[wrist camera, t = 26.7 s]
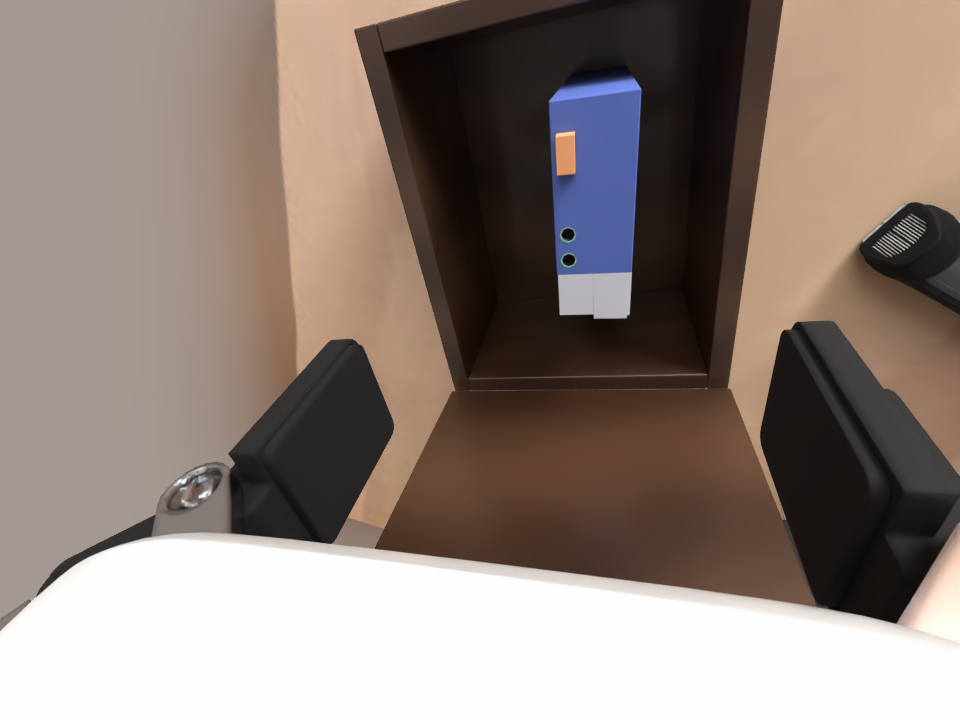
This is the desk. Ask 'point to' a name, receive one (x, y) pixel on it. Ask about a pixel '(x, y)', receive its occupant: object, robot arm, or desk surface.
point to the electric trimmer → (919, 251)
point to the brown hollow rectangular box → (529, 189)
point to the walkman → (595, 189)
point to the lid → (601, 490)
